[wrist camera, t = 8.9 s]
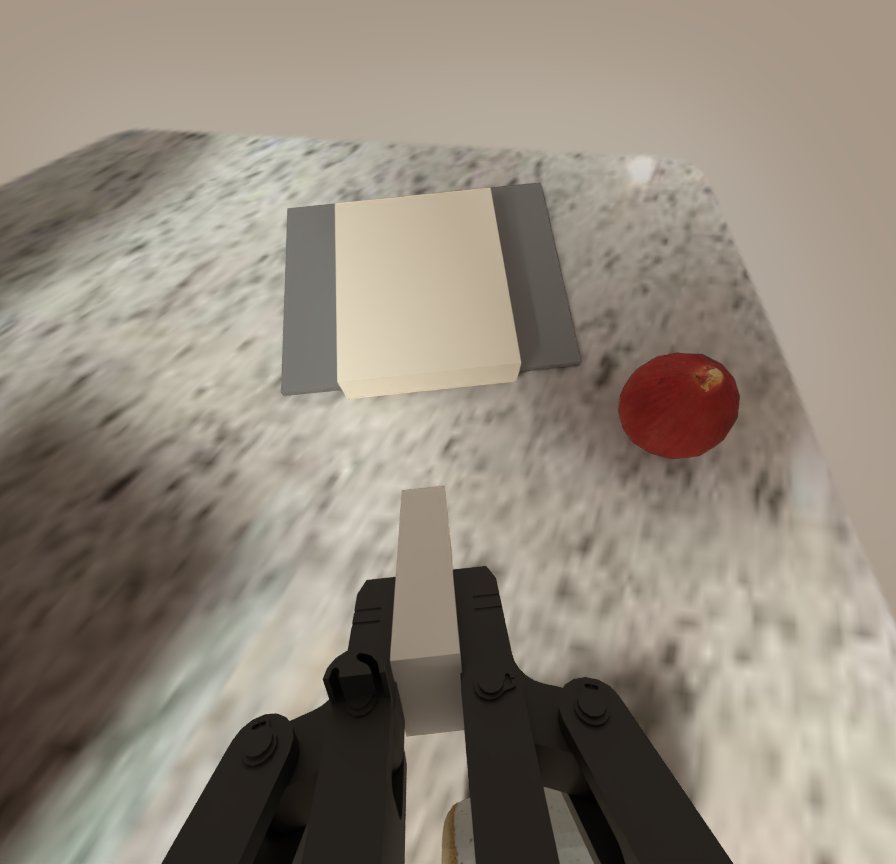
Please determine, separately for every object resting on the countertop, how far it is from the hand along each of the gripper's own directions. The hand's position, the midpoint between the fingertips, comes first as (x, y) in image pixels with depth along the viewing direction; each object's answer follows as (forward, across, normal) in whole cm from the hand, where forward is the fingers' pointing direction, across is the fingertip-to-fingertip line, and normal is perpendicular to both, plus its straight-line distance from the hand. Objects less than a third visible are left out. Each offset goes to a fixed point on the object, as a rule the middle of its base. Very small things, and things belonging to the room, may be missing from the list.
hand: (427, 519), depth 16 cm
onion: (+12, +14, -4) cm, 19 cm away
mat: (+21, 0, +6) cm, 22 cm away
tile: (+13, 0, +1) cm, 13 cm away
